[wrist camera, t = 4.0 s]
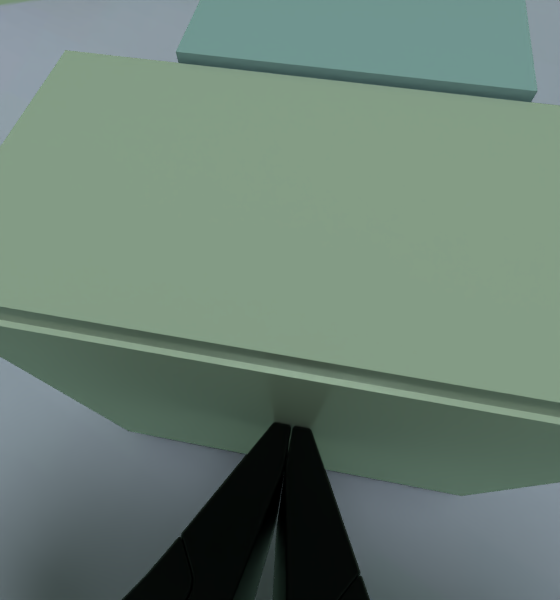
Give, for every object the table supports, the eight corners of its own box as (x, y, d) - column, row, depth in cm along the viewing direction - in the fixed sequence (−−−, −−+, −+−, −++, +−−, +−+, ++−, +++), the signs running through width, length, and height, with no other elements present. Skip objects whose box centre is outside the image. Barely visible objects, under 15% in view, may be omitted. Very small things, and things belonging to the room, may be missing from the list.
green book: (462, 495, 15) (790, 450, 5) (128, 431, 16) (-107, 295, 6) (460, 336, 17) (672, 114, 8) (176, 290, 18) (62, 46, 9)
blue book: (403, 316, 17) (537, 91, 8) (231, 289, 17) (176, 51, 9) (408, 231, 19) (521, -28, 10) (252, 209, 19) (225, -54, 10)
